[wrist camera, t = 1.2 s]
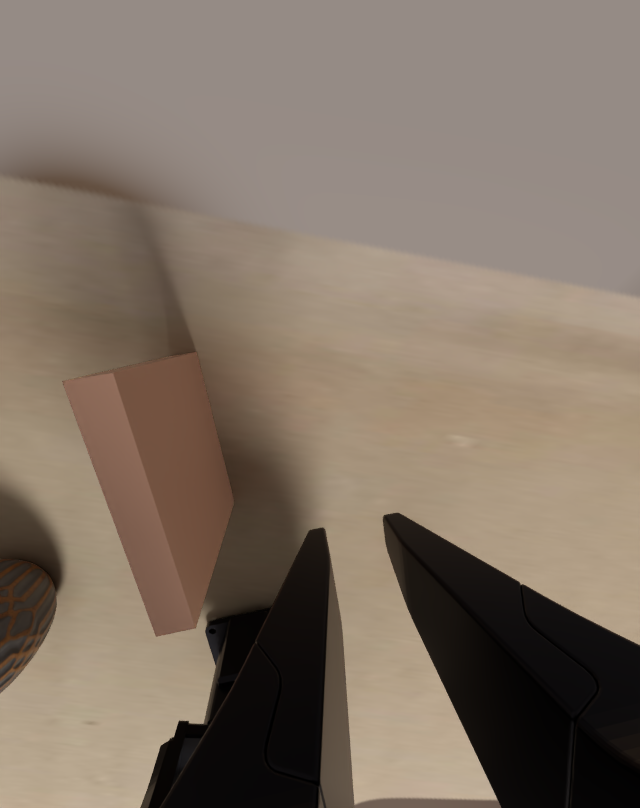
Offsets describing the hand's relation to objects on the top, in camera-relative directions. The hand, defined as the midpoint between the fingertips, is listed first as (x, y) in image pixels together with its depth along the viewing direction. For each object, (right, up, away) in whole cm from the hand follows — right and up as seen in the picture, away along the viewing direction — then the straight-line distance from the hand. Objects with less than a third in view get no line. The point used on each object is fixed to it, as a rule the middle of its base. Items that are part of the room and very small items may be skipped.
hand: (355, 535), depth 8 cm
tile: (-8, +2, +11) cm, 14 cm away
